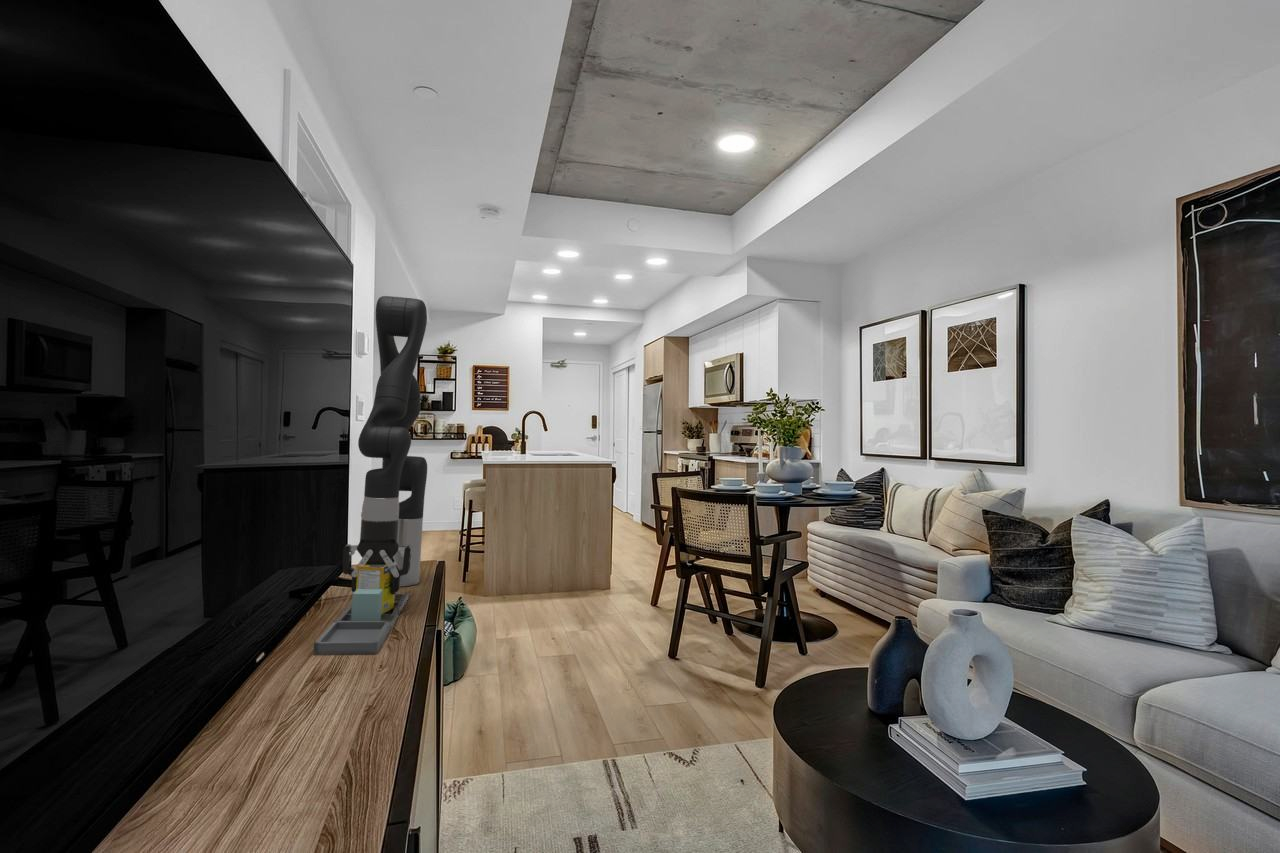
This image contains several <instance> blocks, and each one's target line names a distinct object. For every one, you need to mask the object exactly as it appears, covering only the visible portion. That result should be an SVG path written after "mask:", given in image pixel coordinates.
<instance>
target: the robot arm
mask: <svg viewBox="0 0 1280 853" xmlns="http://www.w3.org/2000/svg"><path fill="white" fill-rule="evenodd" d="M427 313H428V312H427V307H426V304H425V302H424V300H422V299H418V298H411V297H402V296H401V297H400V296H388V295H383V296H379V298H378V299H377V301H376V306H375V326H376V328H375V329H376V335H377V336H376V337H377V344H378V345H377V346H378V353H379V364H380V368H379V369H380V375H379V378H378V380H377V383H376V389H375V395H374V400H373V406H372V409H371V411H370V413H369V415H368V418H367V420H366V422H365V423H364V424H363V425H364V426H363V428H362V430H361V432H360V434H359V437H358V444H357V445H358V449H359V452H360V453H361V455H362V456H364V457H365V458H371V459H372V458H373V459H382V467H379V468H374V469H373V468H372V469H369V470H368V471H367V472H366V474H365V480H364V494H363V495H364V496H363V502H362V507H361V513H360V518H361V519H360V520H361V521H360V533H359V535H360V536H359V543H358V544H356V545H355V544H354V545H353V544H349V543H348V544H346V545H344V547H343V549H342V553H343V554H342V573H343V574H344V575H349V576H350V577H351V587H350V590H351V592H352V593H354V592H355V591H356V584H357V567H358V565H365V564H366V563H367V564H369V565H374V564H378V565H384V564H386V565H387V566H388V568H389V569H390V571H391V573H392V574H393V578H392V589H391V595H395V594H397V593H398V592H399V590H400V587H409V586H415V585H417V584H419V583H420V570H421V569H420V568H421V557H422V556H421V555H422V540H423V538H422V537H423V523H424V522H423V520H424V509H425V508H424V507H425V506H424V505H425V497H426V496H425V495H426V494H425V493H426V487H427V477H428V463H427V460H426V457H423V456H413V455H408V454H409V452H410V448H411V445H412V436H411V433H410V431H409V430H410V429H411V427H412V426H413V425H414V423H415V422H416V421H417V419H418V417H419V416H420V414H421V413H420V412H421V387H420V385H419V382H418V380H417V379H416V377H415V375H414V372H415V368H416V365H417V361H418V359H419V354H420V351H421V349H422V348H421V347H422V344H423V340H424V337H425V334H426V329H427V321H428V314H427ZM395 337H402V338H407V339H406V342H405V343H404V346H403V348H402V349H401V350H400V351H398V348H397V344H396V341H395ZM400 491H401V492H410V493H411V494H410V496H409V497H407V498H405V499H404V500H402V501H399V497H400ZM356 551H357V553H358V554H359V555H360V557H361V559H360V561H359V562H358V564H357V565H356V567H355V568H353V567H352V565H353V564H352V563H353V562H352V557H353V555H355V553H356Z"/></svg>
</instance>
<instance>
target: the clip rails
mask: <svg viewBox="0 0 1280 853" xmlns="http://www.w3.org/2000/svg"><path fill="white" fill-rule="evenodd" d="M409 594H410V592H404V593H396V594H395V599H401V600H399V602H397V601H396V602H395V601H394V610H393V612H391V613H389V614H381V621H390V631H392V629H393V627H394V625H395V623H396V622H397V620H398V618H399V616H400V615H399V614H401V613H400V612H402V611H403V609H404V608H405V606H406V604H407V602H408V601H407V600H409V596H410V595H409ZM404 605H405V606H404ZM403 607H404V608H403ZM351 613H352V602H351V603H350V604H349V605H348V606H347V608H346V609H345V610H343V612H342V613H341V614H340V616H338V618H337V619H336V620H335V621H351ZM395 621H396V622H395Z"/></svg>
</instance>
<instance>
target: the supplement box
mask: <svg viewBox="0 0 1280 853" xmlns="http://www.w3.org/2000/svg"><path fill="white" fill-rule="evenodd" d="M357 565H358V564H357ZM356 567H357V566H356ZM392 578H393V574H392V573H391V571H390V569H389V568H388V566H387V565H386V564H384V565H378V564H374V565H369V564H367V563H366V564H365V565H358V567H357V584H356V590H357V589H383V595H382V611H381V614H392V613H393V611H394V610H395V608H394V602H395V601H394V595H391V589H392Z"/></svg>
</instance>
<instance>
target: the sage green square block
mask: <svg viewBox="0 0 1280 853" xmlns="http://www.w3.org/2000/svg"><path fill="white" fill-rule="evenodd" d="M382 595H383V589H357V590H356V591H355V592H352V597H351V598H352V599H351V600H352V601H351V603H352V613H351V621H381V611H382Z"/></svg>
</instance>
